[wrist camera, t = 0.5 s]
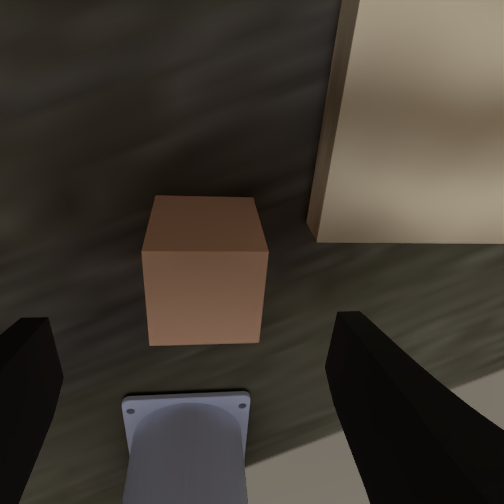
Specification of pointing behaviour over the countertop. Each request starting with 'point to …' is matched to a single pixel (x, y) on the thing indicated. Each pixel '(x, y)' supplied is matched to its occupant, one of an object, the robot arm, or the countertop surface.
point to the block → (204, 270)
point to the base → (413, 125)
